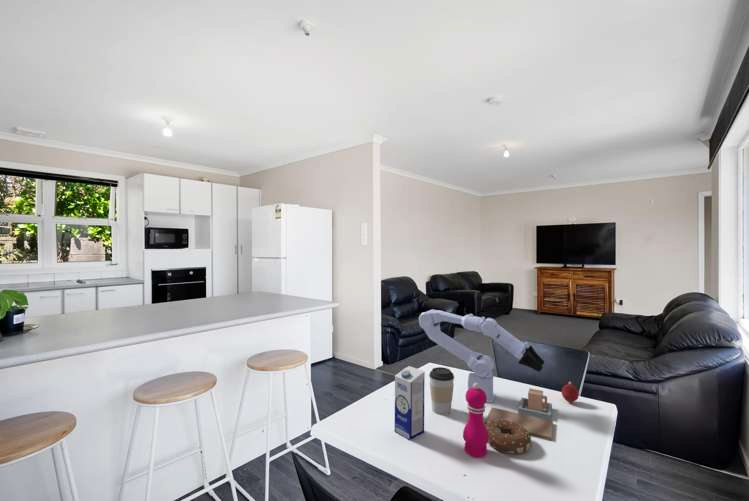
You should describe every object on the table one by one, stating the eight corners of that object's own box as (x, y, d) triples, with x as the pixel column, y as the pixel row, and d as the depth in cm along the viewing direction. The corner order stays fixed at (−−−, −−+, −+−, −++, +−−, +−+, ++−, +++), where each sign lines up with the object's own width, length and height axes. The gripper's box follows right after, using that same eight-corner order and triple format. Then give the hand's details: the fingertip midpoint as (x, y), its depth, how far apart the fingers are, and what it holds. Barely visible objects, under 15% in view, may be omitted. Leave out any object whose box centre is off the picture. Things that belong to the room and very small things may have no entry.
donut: (495, 427, 116) (496, 412, 116) (538, 444, 106) (538, 427, 106) (473, 444, 106) (474, 427, 106) (518, 464, 96) (518, 446, 96)
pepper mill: (469, 441, 107) (469, 376, 106) (492, 450, 102) (493, 382, 102) (458, 452, 101) (459, 383, 101) (482, 462, 96) (483, 390, 96)
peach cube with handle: (528, 411, 126) (528, 392, 126) (529, 406, 130) (529, 388, 130) (546, 416, 123) (546, 396, 123) (547, 410, 127) (547, 391, 127)
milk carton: (424, 433, 111) (425, 370, 111) (410, 440, 107) (410, 375, 107) (408, 424, 117) (408, 365, 117) (394, 431, 112) (394, 369, 112)
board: (484, 424, 117) (484, 421, 117) (491, 409, 128) (491, 407, 128) (551, 440, 107) (551, 437, 107) (553, 423, 118) (553, 420, 118)
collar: (518, 413, 125) (518, 408, 125) (521, 402, 134) (521, 397, 134) (550, 420, 120) (550, 415, 120) (552, 408, 129) (552, 403, 129)
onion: (577, 407, 130) (577, 386, 130) (560, 403, 134) (560, 382, 134) (579, 402, 135) (579, 381, 135) (562, 398, 138) (563, 378, 138)
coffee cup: (452, 405, 131) (452, 365, 131) (455, 416, 122) (456, 374, 122) (428, 404, 132) (428, 364, 132) (429, 415, 123) (430, 373, 123)
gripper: (512, 337, 126) (547, 363, 120) (518, 330, 138) (550, 354, 133) (501, 352, 128) (534, 378, 122) (508, 344, 140) (538, 368, 134)
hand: (542, 366), depth 127 cm, fingers open, 7 cm apart
